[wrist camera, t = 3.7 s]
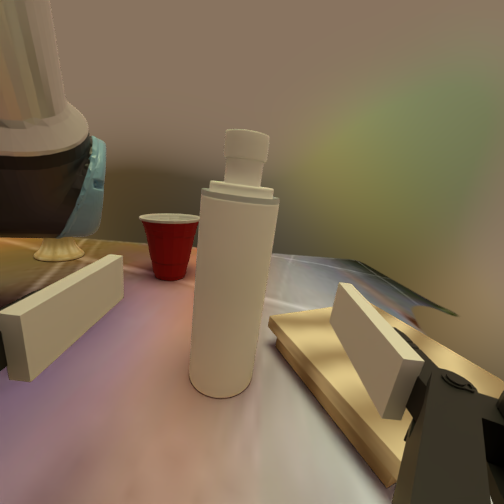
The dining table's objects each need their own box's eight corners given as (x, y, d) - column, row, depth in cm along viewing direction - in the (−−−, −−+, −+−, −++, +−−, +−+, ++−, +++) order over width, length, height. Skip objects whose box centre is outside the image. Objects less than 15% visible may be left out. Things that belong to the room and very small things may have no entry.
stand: (265, 342, 32) (269, 315, 30) (361, 323, 39) (368, 301, 38) (390, 512, 16) (409, 470, 15) (507, 425, 24) (525, 393, 23)
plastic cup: (166, 261, 55) (168, 208, 51) (207, 273, 51) (211, 217, 48) (125, 276, 45) (124, 211, 42) (172, 292, 41) (175, 223, 38)
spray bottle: (239, 409, 22) (285, 98, 15) (175, 384, 24) (190, 94, 17) (259, 361, 28) (297, 125, 21) (207, 344, 30) (227, 120, 23)
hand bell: (78, 247, 56) (73, 176, 52) (89, 258, 51) (84, 179, 46) (30, 252, 50) (19, 171, 46) (37, 264, 45) (25, 175, 40)
